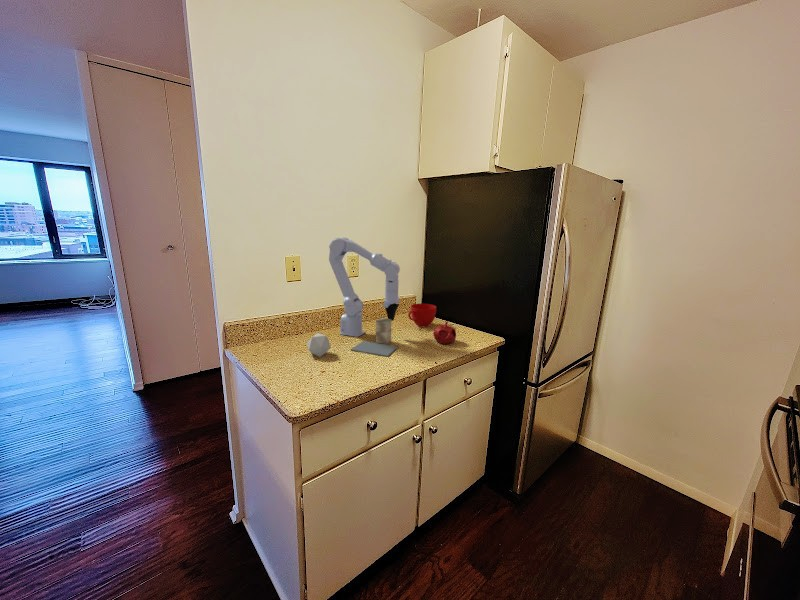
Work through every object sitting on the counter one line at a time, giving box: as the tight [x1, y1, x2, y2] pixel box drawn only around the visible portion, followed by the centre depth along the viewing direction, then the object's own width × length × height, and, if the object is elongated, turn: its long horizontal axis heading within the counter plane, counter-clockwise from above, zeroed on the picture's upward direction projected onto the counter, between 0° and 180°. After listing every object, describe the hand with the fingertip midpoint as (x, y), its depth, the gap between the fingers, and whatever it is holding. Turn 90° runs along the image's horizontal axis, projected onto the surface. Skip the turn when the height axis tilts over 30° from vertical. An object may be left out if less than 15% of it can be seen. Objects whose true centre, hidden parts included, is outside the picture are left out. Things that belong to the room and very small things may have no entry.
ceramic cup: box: [407, 303, 437, 328], centre depth 165 cm, size 13×17×10 cm
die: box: [306, 332, 332, 358], centre depth 124 cm, size 8×9×10 cm
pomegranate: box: [432, 321, 457, 345], centre depth 142 cm, size 10×10×9 cm
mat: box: [350, 340, 399, 358], centre depth 132 cm, size 16×11×1 cm
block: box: [375, 317, 392, 345], centre depth 139 cm, size 5×5×10 cm
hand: (391, 320), depth 146 cm, fingers closed
